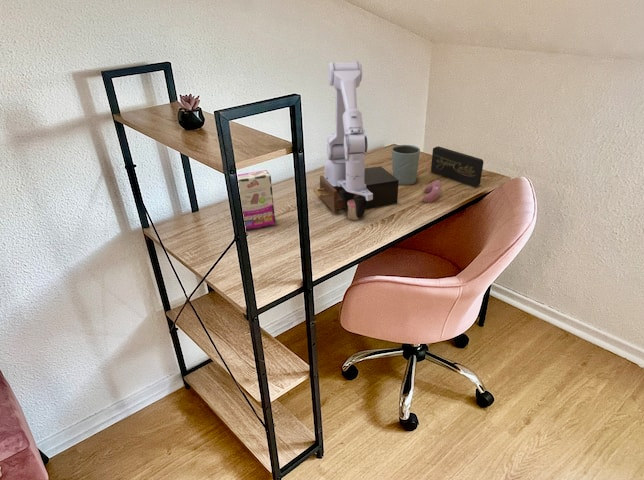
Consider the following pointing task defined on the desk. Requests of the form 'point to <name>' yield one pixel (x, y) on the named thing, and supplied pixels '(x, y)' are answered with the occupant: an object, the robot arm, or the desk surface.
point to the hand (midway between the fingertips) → (354, 213)
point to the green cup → (405, 163)
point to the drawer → (330, 195)
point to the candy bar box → (257, 199)
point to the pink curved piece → (432, 191)
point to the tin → (352, 210)
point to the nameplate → (457, 166)
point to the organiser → (381, 187)
